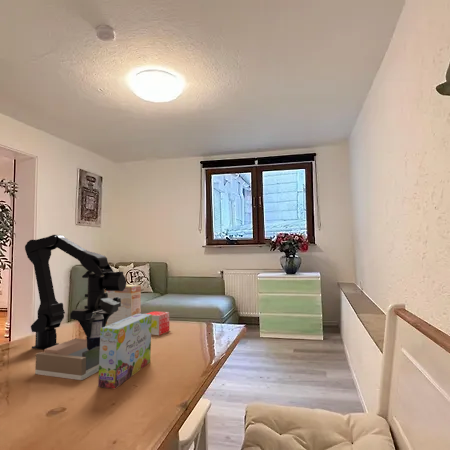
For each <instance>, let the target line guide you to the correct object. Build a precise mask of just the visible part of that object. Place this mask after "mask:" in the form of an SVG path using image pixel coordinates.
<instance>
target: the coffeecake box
mask: <svg viewBox="0 0 450 450" xmlns="http://www.w3.org/2000/svg"><path fill="white" fill-rule="evenodd" d="M105 293H107V294H108V298H110V299H111V298H112V299H114V298H115V297H119V298H121V306H120V307H118V311H117V312H114V313H113V314H112V315H111V316H110V317H109V318H108V320H107V323H106V326H108V325H110V324H113V323H115V322H118V321H120V320H123V319H125V318H128V317H130V316H133V315H135V314H142V313H141V311H142V310H141V308H142V304H141V303H142V302H141V301H142V294H141V293H142V286H141V284H127V283H126V287H125V289H124V290H123V291H106V290H105Z"/></svg>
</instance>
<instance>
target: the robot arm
mask: <svg viewBox="0 0 450 450" xmlns="http://www.w3.org/2000/svg"><path fill="white" fill-rule="evenodd" d="M56 249H59V250H60V251H63V252H64V253H65V254H68V255H69V256H70V257H72V258H74V259H76V260H78V261H79V263H80V265H81V266H82V267H83V268H84V269H86V270H87V271H85V273H84V274H83V275H82V276H81V277H82V278H83V279H87V293H85V294H84V298H87V299H86V300H87V301H86V303H87V304H86V305H84V307H83V308H78V309H73V310H72V311H71V312H70V313H69V319H70V320H75V321H77V322H78V323H79V325H80V326H81V328H82V330H83V333H84V335H85V337H86V339H87V338H90V337H91V328H92V322H93V321H94V319H95V318H92V315H93V314H103V317H104V327H105V326H106V323H107V320H108V318H109V317H110V316H111V315H112V314H113V313H114V312H117V311H118V307H120V306H121V298H119V297H115V298H114V299H112V298H111V299H110V298H108V294H107V293H105V290H106V291H123V290H124V289H125V287H126V284H127V279H126V277H125V275H124V271H121V270H120V271H115V270H113V268H112V267H111V265H110V263H109V261H108V258H107V257H106V256H105V255H103V254H100V253H98V252H93V251H90V250H87V249H85V248H84V247H82V246H80V245H79V244H77V243H75V242H74V241H72V240H70V239H68V238H66V237H65V236H64V235H63V234H52V235H49V236H46V237H45V236H44V237H42V238H39V239H30V240H28V241H27V242H26V244H24V251H25V253H26V256H27V258H28V260H29V261H30V262H31V263H32V264H33V268H34V274H35V280H36V285H37V289H38V296H39V297H38V298H39V301H40V303H39V306H38V310H37V319H36V320H34V322H33V323H32V324H30V330H31V332H32V333H35V343H34V344H35V345H33V346H31V349H35V350H36V349H38V350H44V349H47V348H50V347H52V346H55V345H58V344H60V343H58V342H57V335H58V334H57V328H59V327H61V323H62V321H63V320H64V318H65V314H66V312H65V310H64V303H63V302H58V300H57V299H56V295H55V291H54V290H55V289H54V284H53V279H52V273H51V268H50V267H51V266H50V263H49V262H50V258H51V256H52V251H54V250H56Z"/></svg>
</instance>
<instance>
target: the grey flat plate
mask: <svg viewBox="0 0 450 450" xmlns="http://www.w3.org/2000/svg"><path fill="white" fill-rule="evenodd" d="M99 355H100V345H99V346H97V347H95V348H92V349H90V350H87V351H85V352H83V353H82V357H86V370H88V369H90V368H92V367H94V366H96V365H98V364H99Z"/></svg>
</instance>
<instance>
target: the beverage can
mask: <svg viewBox="0 0 450 450" xmlns="http://www.w3.org/2000/svg"><path fill="white" fill-rule="evenodd" d="M92 318H95V319H94V321H93V322H92V328H91V337H90V338H87V337H86V339H87V350H90V349H92V348H95V347H97V346H99V345H100V331H101V328H103V327H104V317H103V314H96V313H95V314H93V315H92Z"/></svg>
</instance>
